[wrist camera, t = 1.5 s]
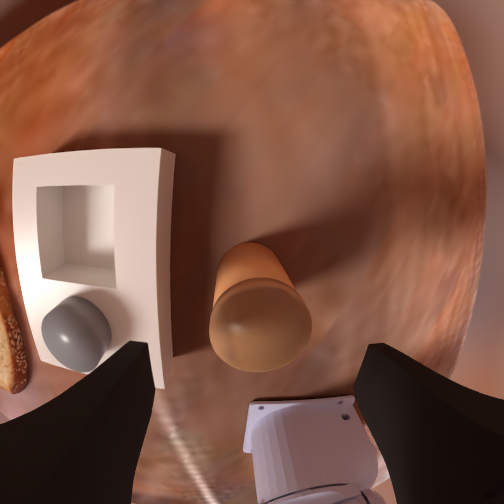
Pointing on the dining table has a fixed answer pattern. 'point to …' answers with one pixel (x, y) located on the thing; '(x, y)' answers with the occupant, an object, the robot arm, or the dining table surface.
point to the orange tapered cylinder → (257, 311)
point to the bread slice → (10, 345)
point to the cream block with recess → (96, 253)
